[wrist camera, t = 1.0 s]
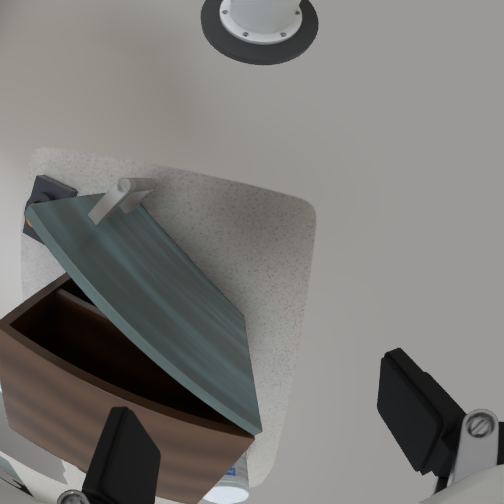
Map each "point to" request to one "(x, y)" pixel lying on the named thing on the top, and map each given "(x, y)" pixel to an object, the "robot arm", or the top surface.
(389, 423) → the robot arm
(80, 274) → the cupboard door
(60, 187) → the switch block
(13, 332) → the cupboard
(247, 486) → the supplement tub
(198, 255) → the top surface
